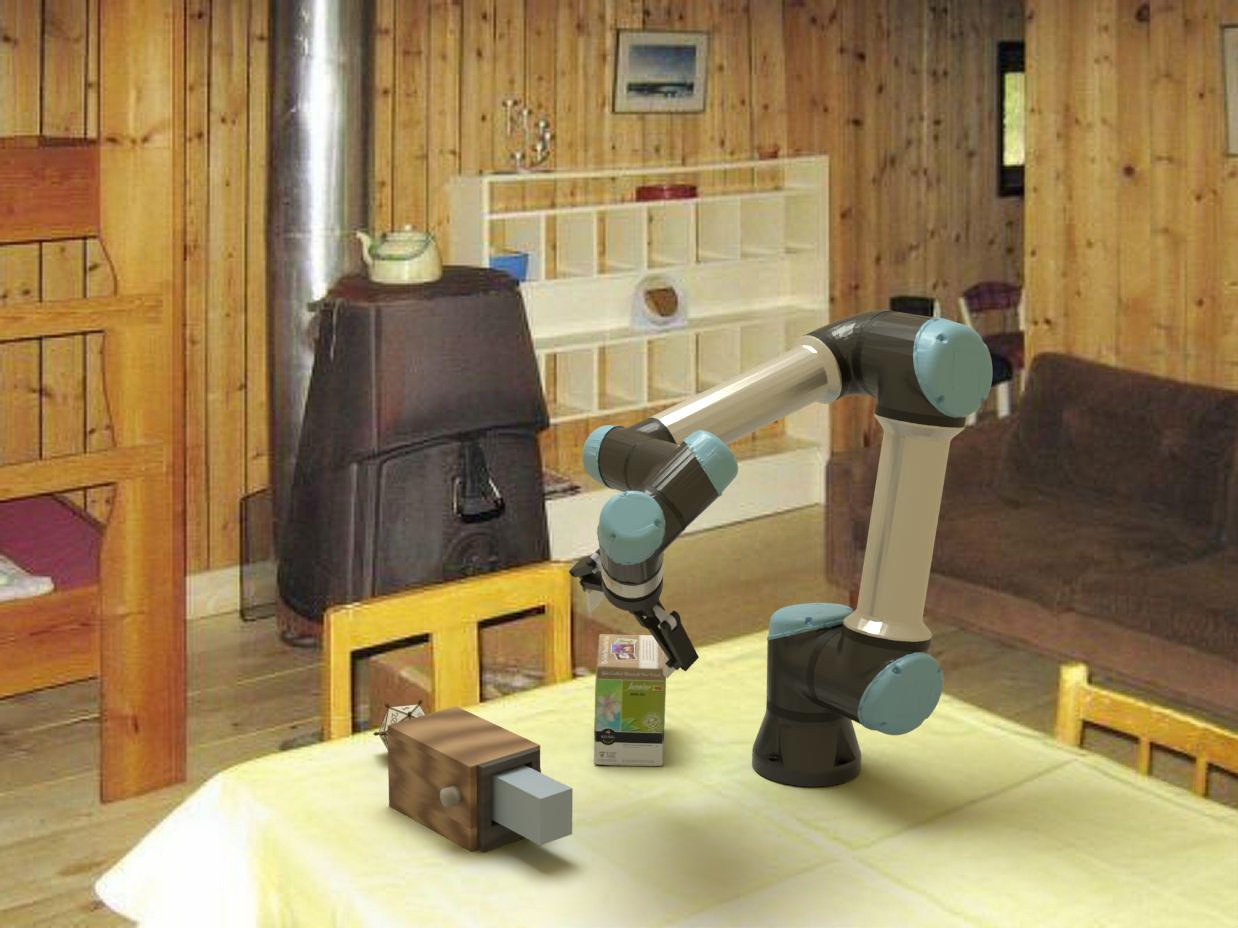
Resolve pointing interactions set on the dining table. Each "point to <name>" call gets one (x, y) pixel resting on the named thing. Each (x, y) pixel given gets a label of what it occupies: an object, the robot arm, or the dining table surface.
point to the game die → (398, 717)
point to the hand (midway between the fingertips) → (633, 636)
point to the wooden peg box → (454, 774)
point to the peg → (531, 804)
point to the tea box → (629, 701)
